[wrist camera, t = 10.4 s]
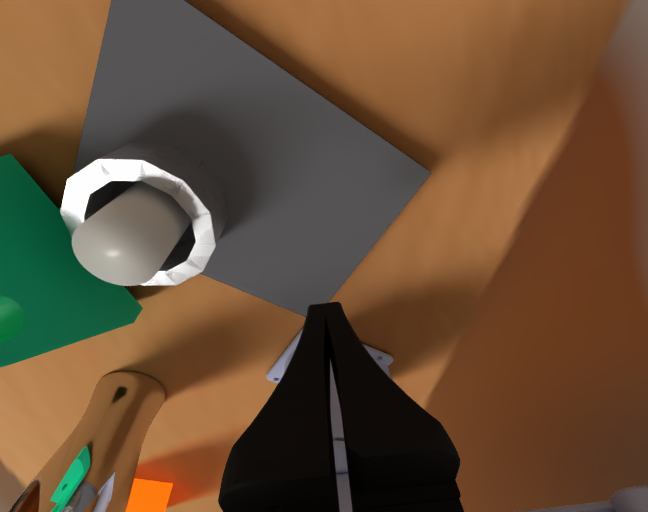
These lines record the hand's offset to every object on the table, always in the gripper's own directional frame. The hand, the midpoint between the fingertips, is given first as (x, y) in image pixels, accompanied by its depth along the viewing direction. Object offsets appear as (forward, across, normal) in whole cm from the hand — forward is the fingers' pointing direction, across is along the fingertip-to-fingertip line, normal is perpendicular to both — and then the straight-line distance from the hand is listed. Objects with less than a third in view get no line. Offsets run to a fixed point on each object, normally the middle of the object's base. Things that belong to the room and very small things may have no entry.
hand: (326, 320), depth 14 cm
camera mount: (+10, +19, 0) cm, 21 cm away
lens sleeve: (+9, +9, -3) cm, 13 cm away
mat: (+9, +4, -3) cm, 11 cm away
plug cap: (+8, +9, -3) cm, 13 cm away
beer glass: (+10, +19, +16) cm, 27 cm away
